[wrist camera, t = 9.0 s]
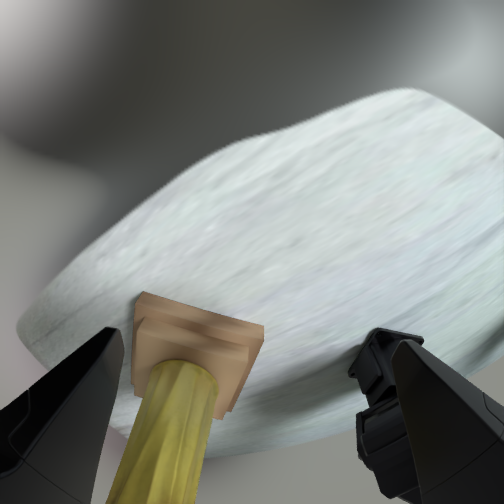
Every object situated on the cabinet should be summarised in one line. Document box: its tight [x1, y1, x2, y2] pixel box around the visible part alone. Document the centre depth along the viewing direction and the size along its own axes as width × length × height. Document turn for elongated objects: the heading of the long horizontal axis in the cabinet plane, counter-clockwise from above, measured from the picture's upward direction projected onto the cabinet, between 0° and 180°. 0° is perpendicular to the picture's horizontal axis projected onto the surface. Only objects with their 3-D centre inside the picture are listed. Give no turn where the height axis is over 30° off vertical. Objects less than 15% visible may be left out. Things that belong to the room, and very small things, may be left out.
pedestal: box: [131, 291, 264, 420], centre depth 25 cm, size 11×11×4 cm
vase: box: [105, 360, 219, 504], centre depth 16 cm, size 6×6×14 cm
